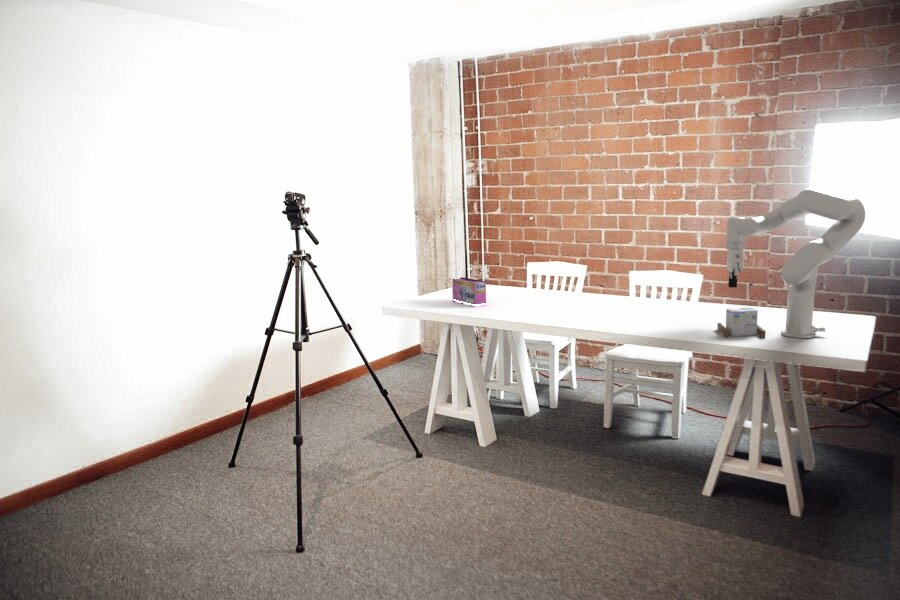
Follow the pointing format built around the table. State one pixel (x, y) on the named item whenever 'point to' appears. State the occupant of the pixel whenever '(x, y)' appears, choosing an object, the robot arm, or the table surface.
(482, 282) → the gum box
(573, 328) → the table surface
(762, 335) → the walnut chute
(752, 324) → the light bulb box
